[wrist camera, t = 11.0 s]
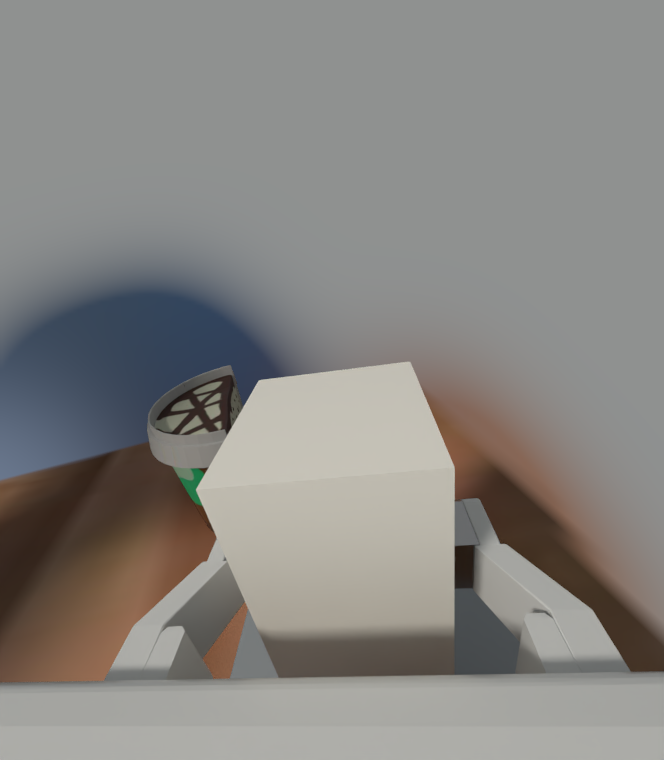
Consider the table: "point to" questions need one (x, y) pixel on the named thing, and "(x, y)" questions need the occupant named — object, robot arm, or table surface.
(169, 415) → the food container
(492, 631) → the post stand
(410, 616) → the tall white pillar
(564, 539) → the table surface
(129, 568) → the table surface
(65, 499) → the table surface
